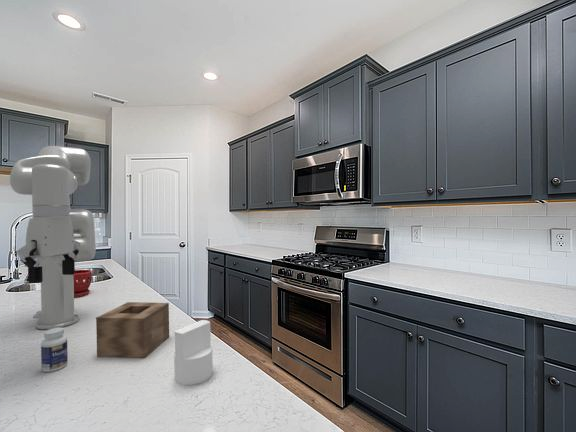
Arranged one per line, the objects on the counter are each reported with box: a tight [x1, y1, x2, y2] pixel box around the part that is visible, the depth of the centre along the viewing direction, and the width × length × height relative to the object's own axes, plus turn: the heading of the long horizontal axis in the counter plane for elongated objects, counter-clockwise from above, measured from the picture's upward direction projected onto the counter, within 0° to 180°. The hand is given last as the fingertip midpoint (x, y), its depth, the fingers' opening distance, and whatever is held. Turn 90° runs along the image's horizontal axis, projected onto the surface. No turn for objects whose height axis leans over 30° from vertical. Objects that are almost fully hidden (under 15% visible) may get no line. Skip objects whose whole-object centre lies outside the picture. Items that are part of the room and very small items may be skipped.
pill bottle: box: [40, 327, 69, 373], centre depth 77 cm, size 5×5×10 cm
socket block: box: [95, 301, 170, 359], centre depth 88 cm, size 14×14×11 cm
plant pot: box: [73, 269, 93, 298], centre depth 144 cm, size 13×13×12 cm
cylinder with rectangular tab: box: [173, 319, 214, 386], centre depth 72 cm, size 9×9×12 cm
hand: (53, 278), depth 76 cm, fingers open, 9 cm apart
